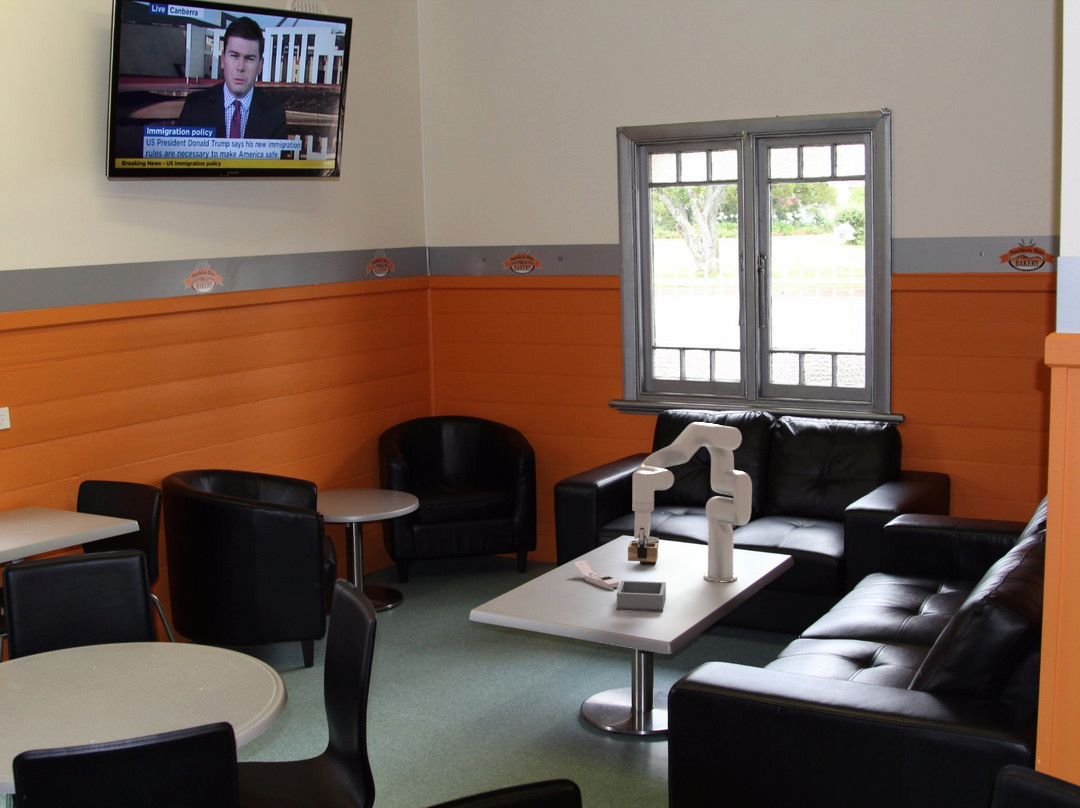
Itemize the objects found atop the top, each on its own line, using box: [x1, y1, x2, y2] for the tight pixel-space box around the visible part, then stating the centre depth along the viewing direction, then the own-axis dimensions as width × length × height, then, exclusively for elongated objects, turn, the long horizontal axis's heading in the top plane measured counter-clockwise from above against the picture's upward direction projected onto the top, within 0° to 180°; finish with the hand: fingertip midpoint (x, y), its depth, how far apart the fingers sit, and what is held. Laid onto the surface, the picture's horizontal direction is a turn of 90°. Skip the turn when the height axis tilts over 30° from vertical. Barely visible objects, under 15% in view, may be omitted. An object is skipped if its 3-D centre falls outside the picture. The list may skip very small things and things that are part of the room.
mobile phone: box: [573, 559, 620, 591], centre depth 433 cm, size 6×6×25 cm
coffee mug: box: [630, 536, 660, 567], centre depth 460 cm, size 12×9×10 cm
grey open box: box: [616, 580, 667, 613], centre depth 406 cm, size 16×16×6 cm
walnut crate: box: [627, 541, 659, 563], centre depth 404 cm, size 7×10×5 cm
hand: (642, 555), depth 404 cm, fingers closed on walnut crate, 7 cm apart
